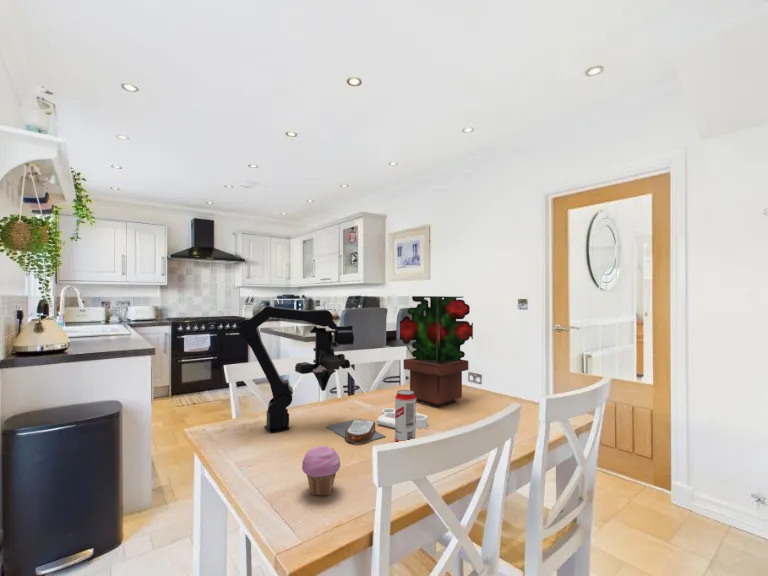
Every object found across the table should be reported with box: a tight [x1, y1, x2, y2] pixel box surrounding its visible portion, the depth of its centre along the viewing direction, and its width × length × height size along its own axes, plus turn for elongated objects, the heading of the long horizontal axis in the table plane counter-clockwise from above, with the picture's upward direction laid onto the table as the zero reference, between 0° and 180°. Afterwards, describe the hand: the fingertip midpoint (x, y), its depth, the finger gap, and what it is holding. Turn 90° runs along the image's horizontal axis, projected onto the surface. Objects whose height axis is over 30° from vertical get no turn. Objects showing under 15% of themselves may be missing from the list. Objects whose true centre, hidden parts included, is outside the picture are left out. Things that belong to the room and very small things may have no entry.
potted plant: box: [399, 295, 474, 408], centre depth 161 cm, size 22×22×45 cm
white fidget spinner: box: [376, 407, 429, 429], centre depth 133 cm, size 3×18×15 cm
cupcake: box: [301, 445, 341, 496], centre depth 86 cm, size 9×9×10 cm
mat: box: [325, 419, 386, 446], centre depth 123 cm, size 11×19×1 cm, turn 37°
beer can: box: [394, 389, 417, 443], centre depth 113 cm, size 6×6×16 cm
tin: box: [344, 418, 376, 444], centre depth 121 cm, size 15×3×8 cm
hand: (323, 390), depth 130 cm, fingers closed
